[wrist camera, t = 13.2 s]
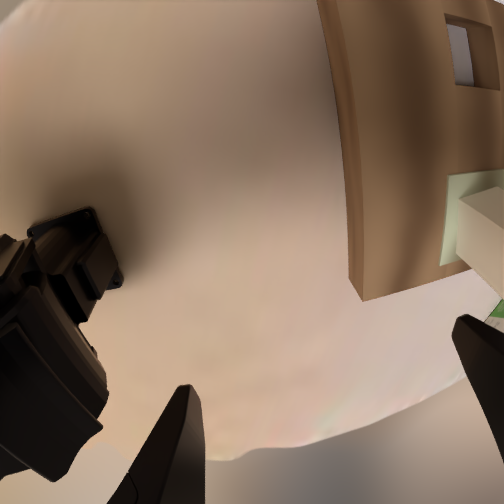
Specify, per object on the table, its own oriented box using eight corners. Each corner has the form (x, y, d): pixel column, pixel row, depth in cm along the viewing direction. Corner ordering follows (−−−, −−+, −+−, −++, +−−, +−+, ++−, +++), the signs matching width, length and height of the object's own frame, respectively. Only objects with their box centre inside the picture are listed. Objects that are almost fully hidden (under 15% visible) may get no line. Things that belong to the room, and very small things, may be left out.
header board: (348, 278, 23) (363, 303, 21) (311, -22, 13) (326, -39, 10) (489, 240, 23) (509, 256, 20) (486, 9, 12) (512, 7, 10)
